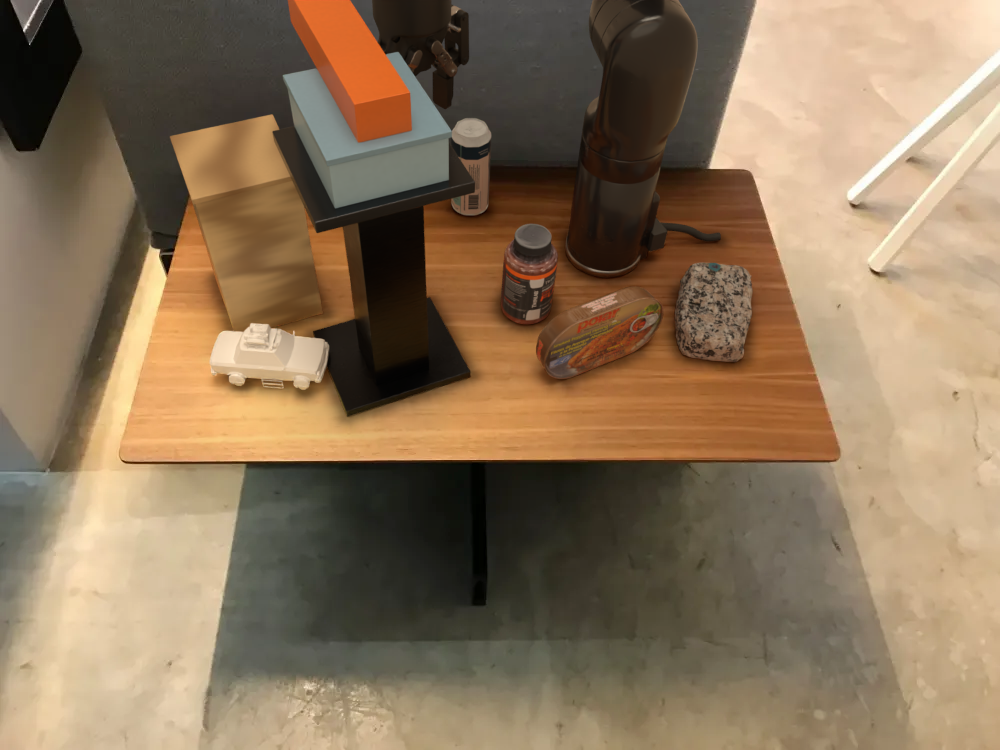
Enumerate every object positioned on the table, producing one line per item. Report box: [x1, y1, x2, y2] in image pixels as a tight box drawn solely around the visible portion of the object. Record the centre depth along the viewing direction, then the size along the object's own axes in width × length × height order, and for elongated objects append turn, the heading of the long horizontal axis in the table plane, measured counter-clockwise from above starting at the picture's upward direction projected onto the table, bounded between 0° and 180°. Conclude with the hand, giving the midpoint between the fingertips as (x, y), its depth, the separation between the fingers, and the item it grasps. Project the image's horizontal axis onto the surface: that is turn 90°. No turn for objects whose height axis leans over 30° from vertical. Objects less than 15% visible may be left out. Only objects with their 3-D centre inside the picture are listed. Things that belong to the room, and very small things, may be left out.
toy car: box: [209, 323, 329, 391], centre depth 90 cm, size 6×12×7 cm, turn 87°
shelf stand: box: [272, 125, 475, 418], centre depth 84 cm, size 14×13×27 cm
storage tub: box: [282, 52, 452, 208], centre depth 72 cm, size 10×12×5 cm
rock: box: [674, 261, 753, 363], centre depth 98 cm, size 13×9×4 cm
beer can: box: [450, 117, 492, 216], centre depth 106 cm, size 5×5×12 cm
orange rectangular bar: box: [287, 0, 412, 143], centre depth 71 cm, size 4×19×4 cm, turn 24°
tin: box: [535, 285, 664, 380], centre depth 92 cm, size 15×3×8 cm, turn 117°
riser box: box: [169, 114, 324, 332], centre depth 92 cm, size 10×10×20 cm
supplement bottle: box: [500, 223, 559, 325], centre depth 95 cm, size 6×6×11 cm
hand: (414, 121), depth 92 cm, fingers open, 8 cm apart
